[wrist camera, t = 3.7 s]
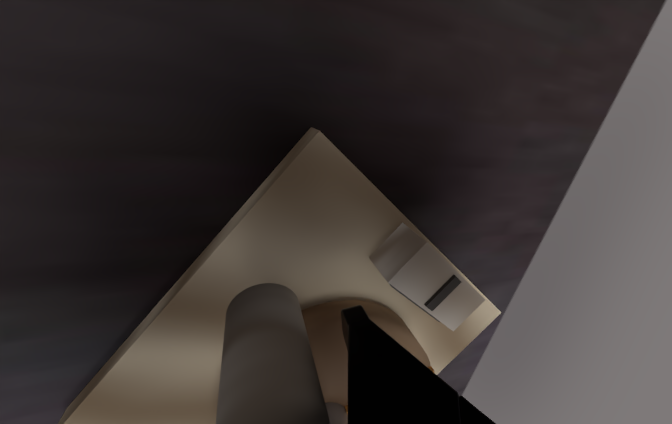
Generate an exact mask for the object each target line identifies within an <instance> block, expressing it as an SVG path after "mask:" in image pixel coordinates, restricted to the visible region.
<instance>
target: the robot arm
mask: <svg viewBox="0 0 672 424" xmlns="http://www.w3.org/2000/svg"><path fill="white" fill-rule="evenodd" d="M341 320H342V331H343V336H344V340H345V344H346V347H347V351H348V424H495V423H494V422H493V421H492V420H491V419H489V418H488V417H487V416H486V415H484V414H483V413H482V412H481V411H479V410H478V409H477V408H476V407H474V406H473V405H472V404H471V403H470V402H469V401H467V400H466V399H465V398H464V397H463V396H459V394H458V392H456V391H455V390H454V389H453V388H452V387H450V386H449V385H448V384H447V383H446V382H444V381H443V380H442V379H441V378H440V377H439V376H437V375H436V374H435V373H434V372H433V371H431V370H430V369H429V368H428V367H427V366H425V365H424V364H423V363H422V362H421V361H419V360H418V359H417V358H416V357H415V356H413V355H412V354H411V353H410V352H409V351H407V350H406V349H405V348H404V347H403V346H401V345H400V344H399V343H398V342H397V341H396V340H394V339H393V338H392V337H391V336H390V335H388V334H387V333H386V332H385V331H384V330H382V329H381V328H380V327H379V326H378V325H376V324H375V323H374V322H373V321H372V320H370V318H369V316H368V315H367V313H366V311H365V310H364V308H363V306H361V305H356V306H352V307H348V308H344V309H342V310H341Z"/></svg>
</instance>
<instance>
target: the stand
mask: <svg viewBox="0 0 672 424" xmlns="http://www.w3.org/2000/svg"><path fill="white" fill-rule="evenodd" d="M263 283H275V284H280V285H283V286H286V287H287V288H289V289H291V290H292V291H293V292H294V293H295V294H296V296H297V298H298V300H299V304H300V308H301V310H303V309H306V308H309V307H312V306H315V305H319V304H323V303H328V302H333V301H342V300H361V301H369V302H373V303H377V304H380V305H382V306H385V307H387V308H389V309H391V310H392V311H394V312H395V313H396V314H397V315H398V316H399V317H401V318H402V320H403V321H404V322H405V324H406V325H407V327H408V328H409V329H410V331H411V332H412V334H413V335H414V337H415V338H416V339H417V341H418V342H419V344H420V345H421V346H422V348H423V349H424V351H425V352H426V354H427V356H428V358H429V361H430V366H431V367H432V368H433V369H434V373H435V374H436V375H437V374H438V373H439V372H440V371H441V370H442V369H443V368H444V367H446V366H447V365H448V364H449V363H450V362H451V361H452V360H453V359H454V358H455V357H456V356H457V355H458V354H459V353H460V352H461V351H462V350H463V349H464V348H465V347H466V346H467V345H468V344H469V343H470V342H471V341H472V340H474V339H475V338H476V337H477V336H478V335H479V334H480V333H481V332H482V331H483V330H484V329H485V328H486V327H487V326H488V325H489V324H490V323H491V322H492V321H493V320H494V319H495V318H496V317H497V316H498V315H499V314H500V313H501V312H500V311H499V310H498V309H497V308H496V307H495V306H494V305H493V304H492V303H491V302H490V301H489V300H488V299H487V298H486V297H485V296H484V295H483V294H482V293H481V292H480V291H479V290H478V289H477V288H476V287H475V286H474V285H473V284H472V283H471V282H470V281H469V280H468V279H467V278H466V277H465V276H464V275H463V274H462V273H461V272H460V271H459V270H458V269H457V268H456V267H455V266H454V265H453V264H452V263H451V262H450V261H449V260H448V259H447V258H446V257H445V256H444V255H443V254H442V253H441V252H440V251H439V250H438V249H437V248H436V247H435V246H434V245H433V244H432V243H431V242H430V241H429V240H428V239H427V238H426V237H425V236H424V235H423V234H422V233H421V232H420V231H419V230H418V229H417V228H416V227H415V226H414V225H413V224H412V223H411V222H410V221H409V220H408V219H407V218H406V217H405V216H404V215H403V214H402V213H401V212H400V211H399V210H398V209H397V208H396V207H395V206H394V205H393V204H392V203H391V202H390V201H389V200H388V199H387V198H386V197H385V196H384V195H383V194H382V193H381V192H380V191H379V190H378V189H377V188H376V187H375V186H374V185H373V184H372V183H371V182H370V181H369V180H368V179H367V178H366V177H365V176H364V175H363V174H362V173H361V172H360V171H359V170H358V169H357V168H356V167H355V166H354V165H353V164H352V163H351V162H350V161H349V160H348V159H347V158H346V157H345V156H344V155H343V154H342V153H341V152H340V151H339V150H338V149H337V148H336V147H335V146H334V145H333V144H332V143H331V142H330V141H329V140H328V139H327V138H326V137H325V136H324V135H323V134H322V133H321V132H320V131H319V130H317V129H315V128H312V127H311V128H310V129H309V130H308V131H307V132H306V133H305V135H304V136H303V137H302V138H301V139H300V140H299V142H298V143H297V144H296V145H295V146H294V147H293V148H292V150H291V151H290V152H289V153H288V154H287V155H286V156H285V158H284V159H283V160H282V161H281V162H280V163H279V165H278V166H277V167H276V168H275V169H274V170H273V171H272V173H271V174H270V175H269V176H268V177H267V178H266V179H265V181H264V182H263V183H262V184H261V185H260V186H259V188H258V189H257V190H256V191H255V192H254V193H253V194H252V196H251V197H250V198H249V199H248V200H247V201H246V202H245V204H244V205H243V206H242V207H241V208H240V209H239V211H238V212H237V213H236V214H235V215H234V216H233V217H232V219H231V220H230V221H229V222H228V223H227V224H226V225H225V227H224V228H223V229H222V230H221V231H220V232H219V234H218V235H217V236H216V237H215V238H214V239H213V240H212V242H211V243H210V244H209V245H208V246H207V247H206V248H205V250H204V251H203V252H202V253H201V254H200V255H199V257H198V258H197V259H196V260H195V261H194V262H193V263H192V265H191V266H190V267H189V268H188V269H187V270H186V272H185V273H184V274H183V275H182V276H181V277H180V278H179V280H178V281H177V282H176V283H175V284H174V285H173V286H172V288H171V289H170V290H169V291H168V292H167V293H166V295H165V296H164V297H163V298H162V299H161V300H160V301H159V303H158V304H157V305H156V306H155V307H154V308H153V309H152V311H151V312H150V313H149V314H148V315H147V316H146V318H145V319H144V320H143V321H142V322H141V323H140V324H139V326H138V327H137V328H136V329H135V330H134V331H133V332H132V334H131V335H130V336H129V337H128V338H127V339H126V341H125V342H124V343H123V344H122V345H121V346H120V347H119V349H118V350H117V351H116V352H115V353H114V354H113V355H112V357H111V358H110V359H109V360H108V361H107V362H106V364H105V365H104V366H103V367H102V368H101V369H100V370H99V372H98V373H97V374H96V375H95V376H94V377H93V378H92V380H91V381H90V382H89V383H88V384H87V385H86V387H85V388H84V389H83V390H82V391H81V392H80V393H79V395H78V396H77V397H76V398H75V399H74V400H73V402H72V403H71V404H70V405H69V406H68V407H67V409H66V411H65V412H64V414H63V416H62V417H61V419H60V421H59V423H58V424H216V415H217V405H218V394H219V383H220V373H221V362H222V351H223V341H224V330H225V319H226V311H227V308H228V306H229V304H230V302H231V301H232V300H233V298H234V297H235V296H236V295H238V294H239V293H240V292H242V291H243V290H245V289H247V288H249V287H251V286H254V285H257V284H263Z"/></svg>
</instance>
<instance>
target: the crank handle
mask: <svg viewBox="0 0 672 424" xmlns="http://www.w3.org/2000/svg"><path fill="white" fill-rule="evenodd" d="M356 305H361V306H363V308H364V310H365V311H366V313H367V315H368V316H369V318H370V320H372V321H373V322H374V323H375V324H376V325H378V326H379V327H380V328H381V329H382V330H384V331H385V332H386V333H387V334H388V335H390V336H391V337H392V338H393V339H394V340H396V341H397V342H398V343H399V344H400V345H401V346H403V347H404V348H405V349H406V350H407V351H409V352H410V353H411V354H412V355H413V356H415V357H416V358H417V359H418V360H419V361H421V362H422V363H423V364H424V365H425V366H427V367H428V368H429V369H430V370H431V371H433V372H434V369H433V368H432V367H431V366H430V361H429V358H428V356H427V354H426V352H425V351H424V349H423V348H422V346H421V345H420V344H419V342H418V341H417V339H416V338H415V337H414V335H413V334H412V332H411V331H410V329H409V328H408V327H407V325H406V324H405V322H404V321H403V320H402V318H401V317H399V316H398V315H397V314H396V313H395V312H394V311H392V310H391V309H389V308H387V307H385V306H382V305H380V304H377V303H373V302H369V301H361V300H342V301H333V302H328V303H323V304H319V305H315V306H312V307H309V308H306V309H303V310H301V308H300V304H299V300H298V298H297V296H296V294H295V293H294V292H293V291H292V290H291V289H289V288H287V287H286V286H283V285H280V284H275V283H263V284H257V285H254V286H251V287H249V288H247V289H245V290H243V291H242V292H240V293H239V294H238V295H236V296H235V297H234V298H233V300H232V301H231V302H230V304H229V306H228V308H227V311H226V319H225V330H224V341H223V351H222V362H221V373H220V383H219V394H218V405H217V415H216V424H348V351H347V347H346V344H345V340H344V336H343V331H342V320H341V310H342V309H344V308H348V307H352V306H356Z"/></svg>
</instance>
